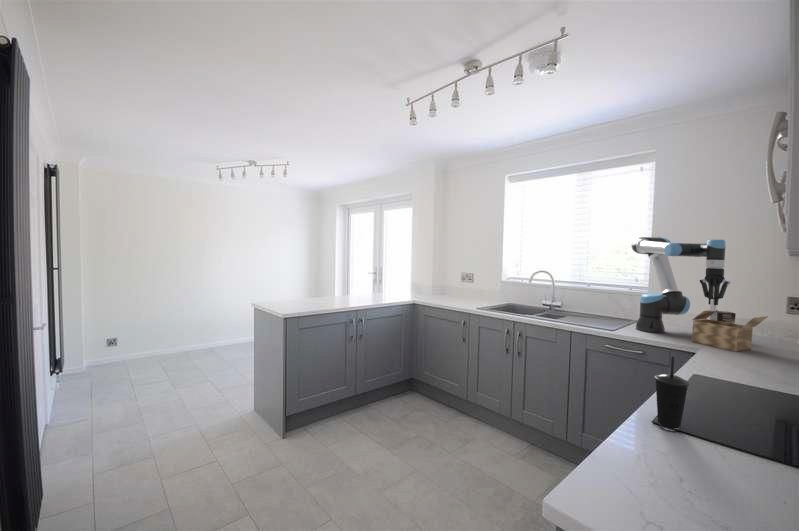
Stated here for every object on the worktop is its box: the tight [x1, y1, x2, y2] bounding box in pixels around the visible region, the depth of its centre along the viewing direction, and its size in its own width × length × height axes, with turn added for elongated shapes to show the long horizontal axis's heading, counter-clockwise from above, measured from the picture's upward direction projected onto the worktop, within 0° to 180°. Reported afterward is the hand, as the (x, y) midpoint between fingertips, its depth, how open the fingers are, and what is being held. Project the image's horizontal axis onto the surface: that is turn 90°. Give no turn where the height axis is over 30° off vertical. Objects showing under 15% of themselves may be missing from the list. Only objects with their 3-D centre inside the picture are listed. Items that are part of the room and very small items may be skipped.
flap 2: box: [740, 315, 769, 329], centre depth 178 cm, size 8×13×1 cm
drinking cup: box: [654, 356, 690, 428], centre depth 98 cm, size 8×8×20 cm
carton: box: [691, 318, 754, 353], centre depth 190 cm, size 20×13×12 cm, turn 23°
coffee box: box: [709, 310, 736, 324], centre depth 205 cm, size 9×6×16 cm
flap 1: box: [691, 309, 719, 321], centre depth 197 cm, size 8×13×1 cm
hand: (712, 310), depth 194 cm, fingers closed
